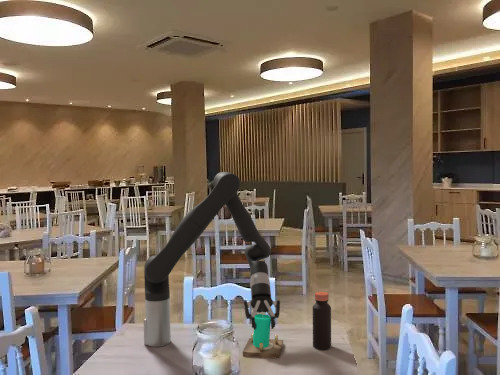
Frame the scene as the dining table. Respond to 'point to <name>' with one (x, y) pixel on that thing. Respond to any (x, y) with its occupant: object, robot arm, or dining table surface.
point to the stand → (268, 352)
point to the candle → (262, 330)
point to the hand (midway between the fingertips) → (263, 328)
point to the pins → (262, 343)
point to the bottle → (321, 322)
